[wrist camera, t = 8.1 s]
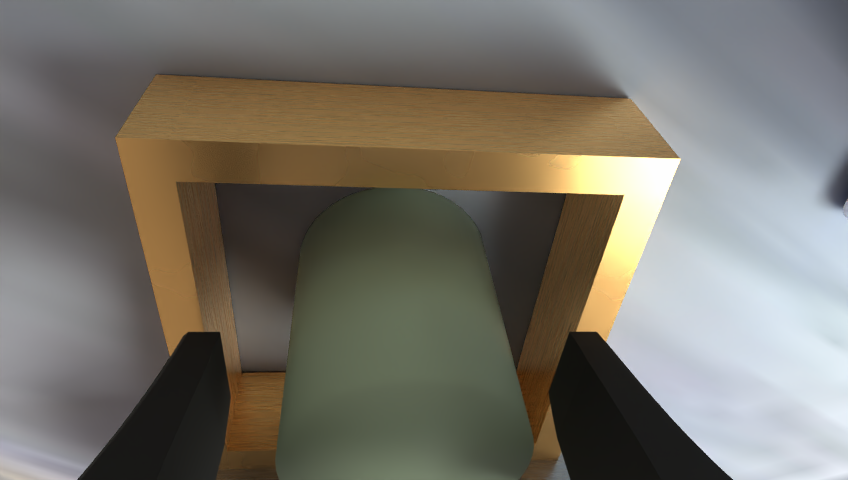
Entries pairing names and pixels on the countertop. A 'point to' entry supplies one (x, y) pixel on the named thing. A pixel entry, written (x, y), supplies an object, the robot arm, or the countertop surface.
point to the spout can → (399, 349)
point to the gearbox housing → (388, 168)
